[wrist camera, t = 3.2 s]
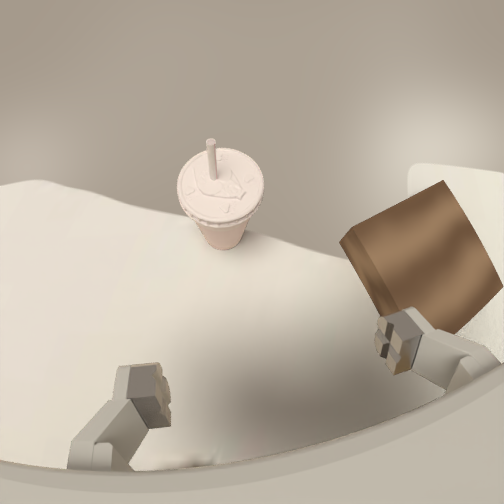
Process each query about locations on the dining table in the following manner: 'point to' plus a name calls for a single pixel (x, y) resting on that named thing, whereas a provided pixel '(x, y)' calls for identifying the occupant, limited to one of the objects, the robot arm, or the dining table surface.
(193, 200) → the smoothie
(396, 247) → the plinth
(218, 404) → the dining table surface
